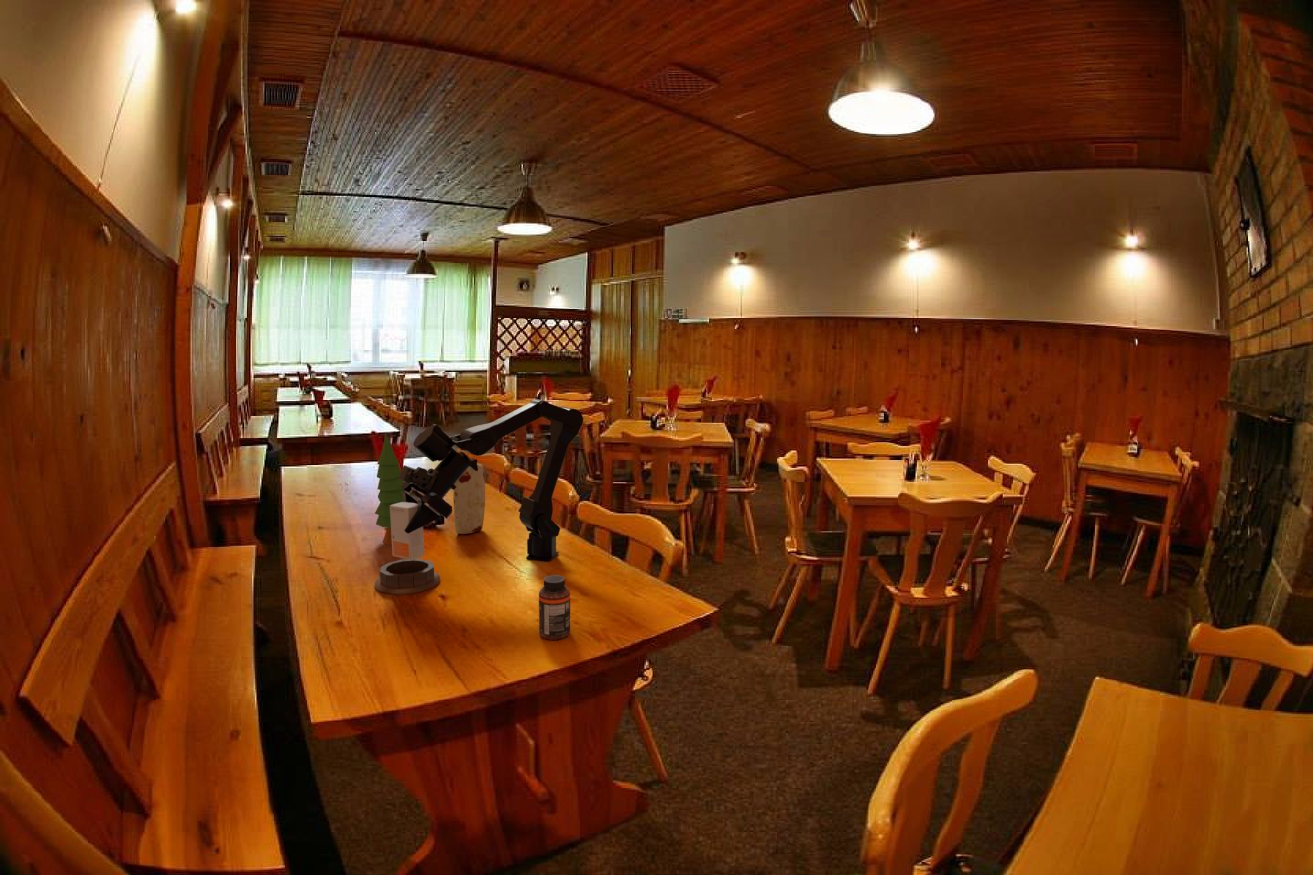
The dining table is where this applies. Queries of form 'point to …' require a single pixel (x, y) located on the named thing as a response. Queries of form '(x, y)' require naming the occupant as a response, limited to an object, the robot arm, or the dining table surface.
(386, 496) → the decorative tree
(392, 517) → the skincare box
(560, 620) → the supplement bottle
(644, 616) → the dining table surface
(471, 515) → the food model
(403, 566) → the stone fire pit
